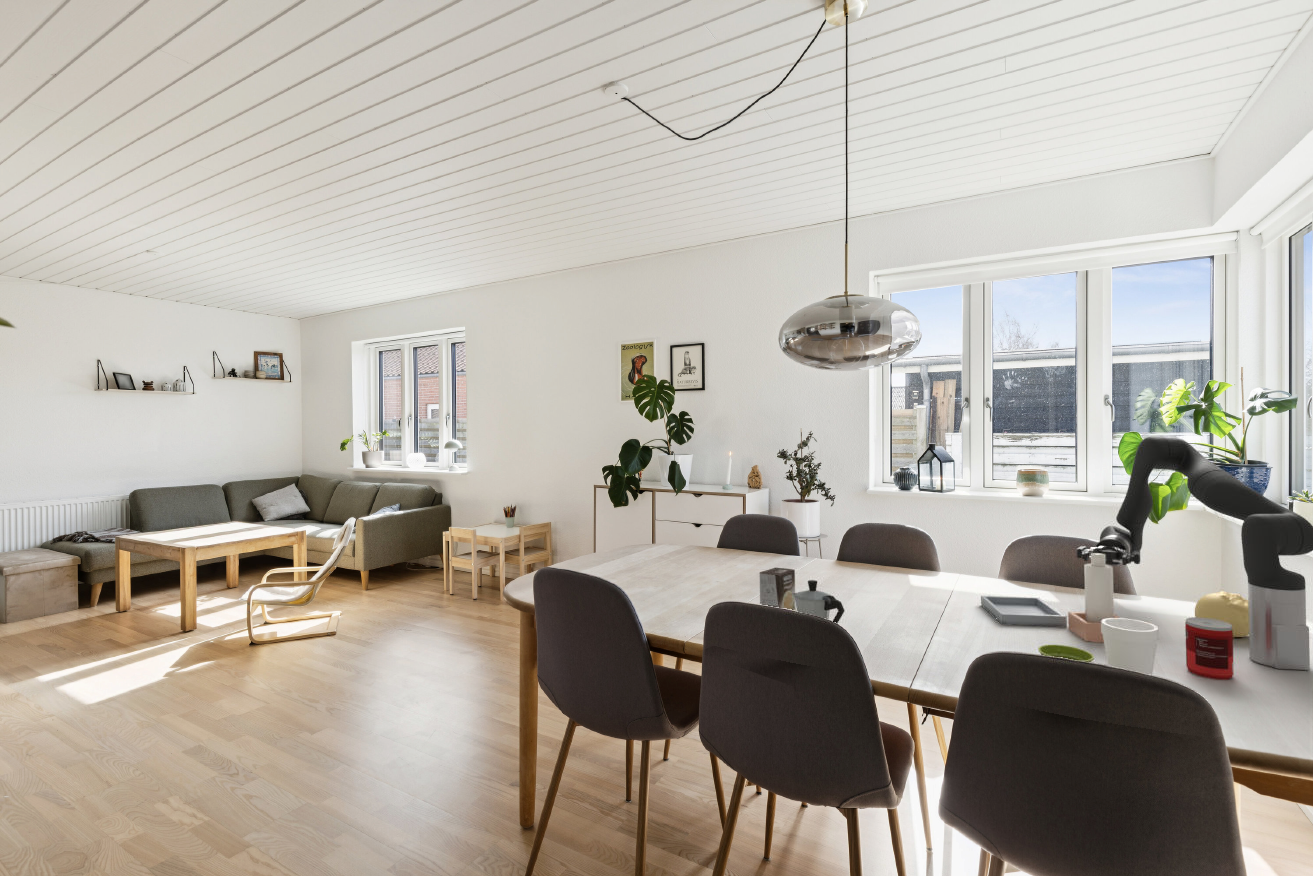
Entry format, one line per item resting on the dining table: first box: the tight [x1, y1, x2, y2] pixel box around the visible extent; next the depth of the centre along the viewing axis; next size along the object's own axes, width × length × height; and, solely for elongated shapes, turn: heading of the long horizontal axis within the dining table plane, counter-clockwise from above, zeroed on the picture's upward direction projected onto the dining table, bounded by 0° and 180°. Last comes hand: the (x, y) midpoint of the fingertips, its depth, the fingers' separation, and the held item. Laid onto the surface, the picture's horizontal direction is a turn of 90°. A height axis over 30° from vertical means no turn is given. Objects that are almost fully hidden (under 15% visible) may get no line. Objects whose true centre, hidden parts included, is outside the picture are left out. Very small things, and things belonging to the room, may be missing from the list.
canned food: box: [1184, 616, 1234, 681], centre depth 136 cm, size 8×8×11 cm
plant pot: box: [1037, 644, 1095, 663], centre depth 127 cm, size 9×9×9 cm
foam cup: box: [1101, 617, 1160, 676], centre depth 130 cm, size 10×9×13 cm
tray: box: [980, 595, 1068, 628], centre depth 182 cm, size 20×16×3 cm
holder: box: [1067, 611, 1121, 643], centre depth 162 cm, size 10×10×4 cm
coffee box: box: [759, 567, 796, 611], centre depth 175 cm, size 9×6×16 cm
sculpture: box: [1194, 590, 1249, 638], centre depth 161 cm, size 12×12×11 cm
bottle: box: [1083, 553, 1115, 623], centre depth 162 cm, size 6×6×21 cm
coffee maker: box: [792, 579, 845, 624], centre depth 153 cm, size 15×9×18 cm, turn 40°
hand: (1104, 559), depth 171 cm, fingers open, 8 cm apart
